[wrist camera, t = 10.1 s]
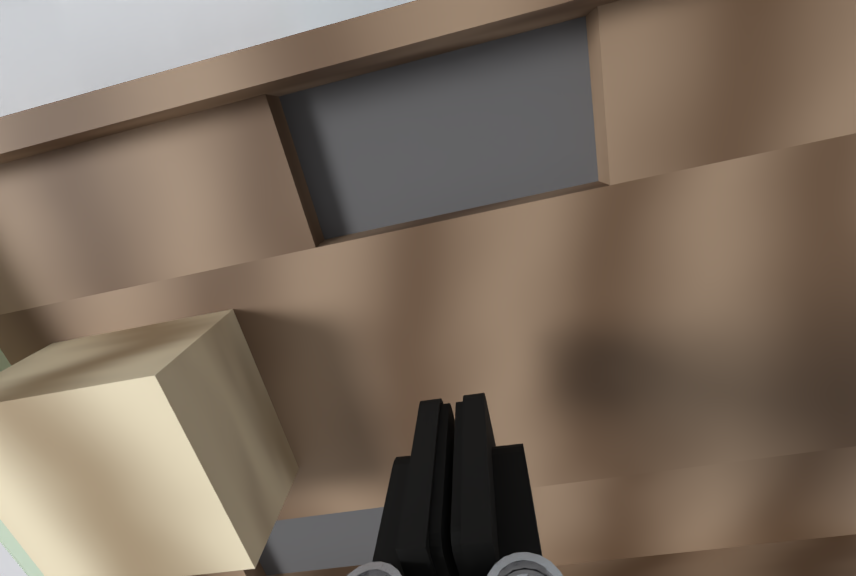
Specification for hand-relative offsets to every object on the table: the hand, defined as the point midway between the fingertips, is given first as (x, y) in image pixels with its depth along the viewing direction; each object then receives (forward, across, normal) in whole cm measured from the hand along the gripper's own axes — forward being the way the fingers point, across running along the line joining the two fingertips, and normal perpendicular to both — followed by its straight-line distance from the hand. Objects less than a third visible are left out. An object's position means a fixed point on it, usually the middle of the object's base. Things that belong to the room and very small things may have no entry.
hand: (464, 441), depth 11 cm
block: (+3, +11, 0) cm, 11 cm away
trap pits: (+5, +2, +1) cm, 6 cm away
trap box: (+5, +2, +1) cm, 6 cm away
